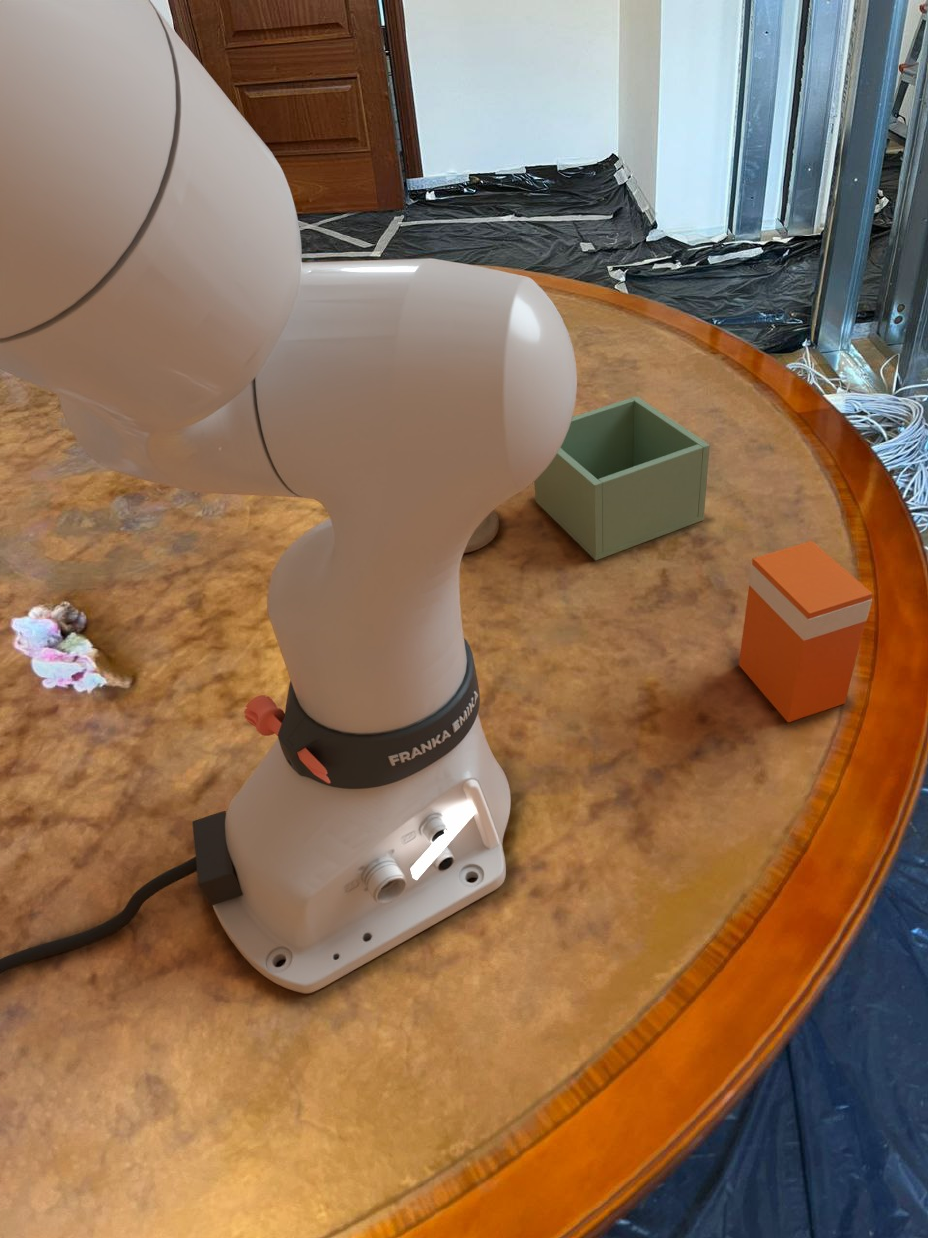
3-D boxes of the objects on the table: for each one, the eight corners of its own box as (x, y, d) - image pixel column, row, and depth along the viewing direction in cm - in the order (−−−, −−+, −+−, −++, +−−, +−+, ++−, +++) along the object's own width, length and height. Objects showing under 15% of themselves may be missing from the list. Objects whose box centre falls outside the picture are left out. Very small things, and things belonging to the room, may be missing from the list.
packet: (787, 723, 65) (808, 614, 58) (737, 664, 70) (751, 557, 63) (846, 704, 66) (874, 593, 59) (792, 647, 71) (811, 539, 64)
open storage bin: (595, 560, 83) (594, 485, 78) (535, 501, 92) (530, 430, 87) (703, 520, 86) (710, 444, 81) (635, 466, 95) (636, 395, 90)
